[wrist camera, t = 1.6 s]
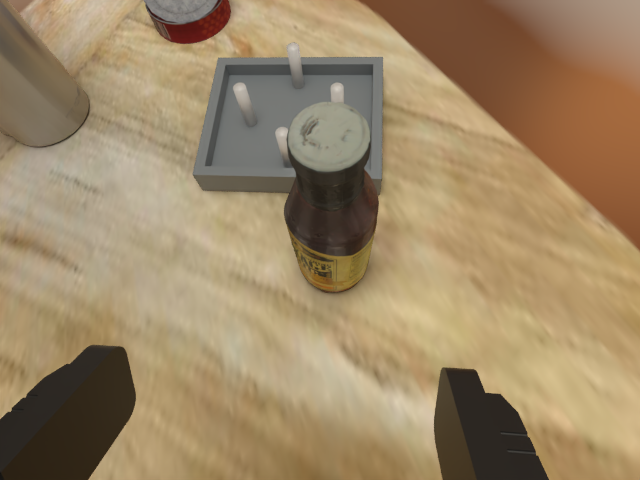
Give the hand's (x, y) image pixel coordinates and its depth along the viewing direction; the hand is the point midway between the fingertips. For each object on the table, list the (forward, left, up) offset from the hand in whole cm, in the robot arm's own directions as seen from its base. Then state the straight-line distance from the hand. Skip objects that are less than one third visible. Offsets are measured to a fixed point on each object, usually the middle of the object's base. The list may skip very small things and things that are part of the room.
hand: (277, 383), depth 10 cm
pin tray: (-5, +27, -24) cm, 36 cm away
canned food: (-20, +45, -25) cm, 55 cm away
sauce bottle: (0, +12, -25) cm, 27 cm away
